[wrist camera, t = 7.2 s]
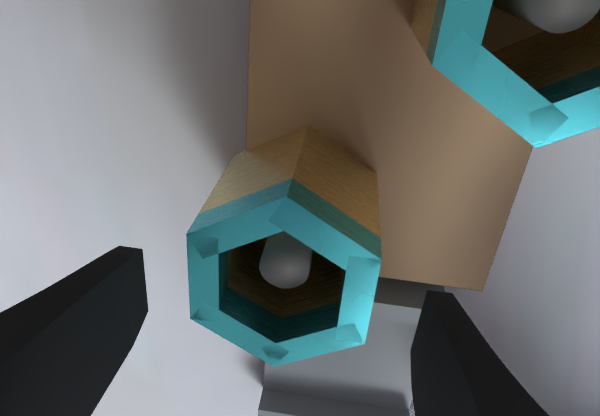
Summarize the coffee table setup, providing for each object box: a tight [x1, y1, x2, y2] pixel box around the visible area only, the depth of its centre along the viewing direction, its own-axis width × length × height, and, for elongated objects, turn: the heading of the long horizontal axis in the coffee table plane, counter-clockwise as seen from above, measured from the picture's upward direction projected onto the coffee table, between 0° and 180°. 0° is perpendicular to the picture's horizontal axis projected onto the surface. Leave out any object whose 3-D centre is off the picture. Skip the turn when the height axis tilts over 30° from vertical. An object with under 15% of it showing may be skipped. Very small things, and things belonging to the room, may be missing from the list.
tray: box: [258, 277, 445, 416], centre depth 21 cm, size 7×8×2 cm
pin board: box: [246, 0, 600, 291], centre depth 13 cm, size 9×13×6 cm
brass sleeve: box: [186, 124, 382, 367], centre depth 14 cm, size 5×6×5 cm
